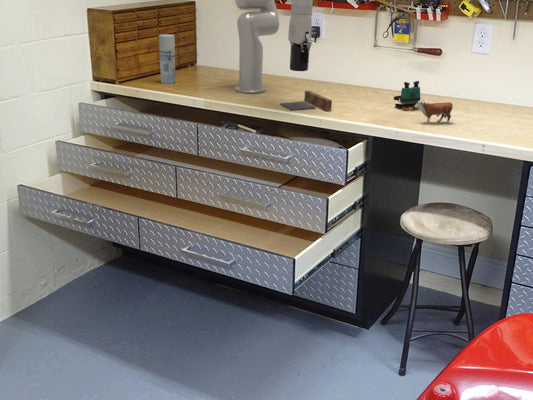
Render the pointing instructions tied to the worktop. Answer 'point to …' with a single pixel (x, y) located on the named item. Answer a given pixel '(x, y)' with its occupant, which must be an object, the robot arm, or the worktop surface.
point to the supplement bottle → (297, 59)
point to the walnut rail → (318, 100)
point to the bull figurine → (435, 109)
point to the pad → (297, 106)
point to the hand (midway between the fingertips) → (299, 61)
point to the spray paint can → (167, 58)
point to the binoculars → (409, 96)
